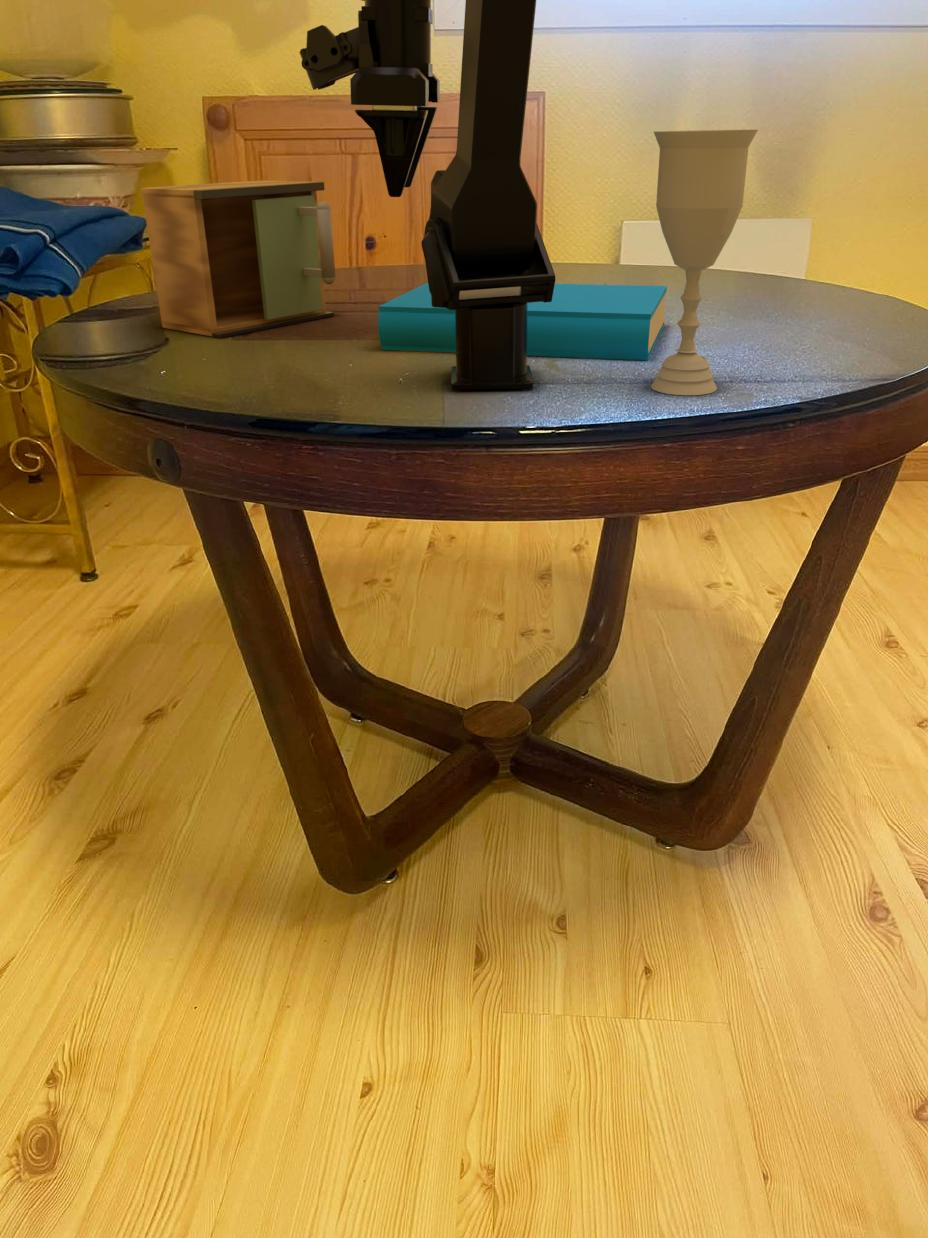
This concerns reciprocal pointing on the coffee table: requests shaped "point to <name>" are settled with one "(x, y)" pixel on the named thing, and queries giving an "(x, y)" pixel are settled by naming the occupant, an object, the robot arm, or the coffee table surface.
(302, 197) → the door
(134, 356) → the coffee table surface
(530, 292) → the robot arm
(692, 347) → the chalice
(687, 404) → the coffee table surface
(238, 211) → the cupboard
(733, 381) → the coffee table surface
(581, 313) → the book
